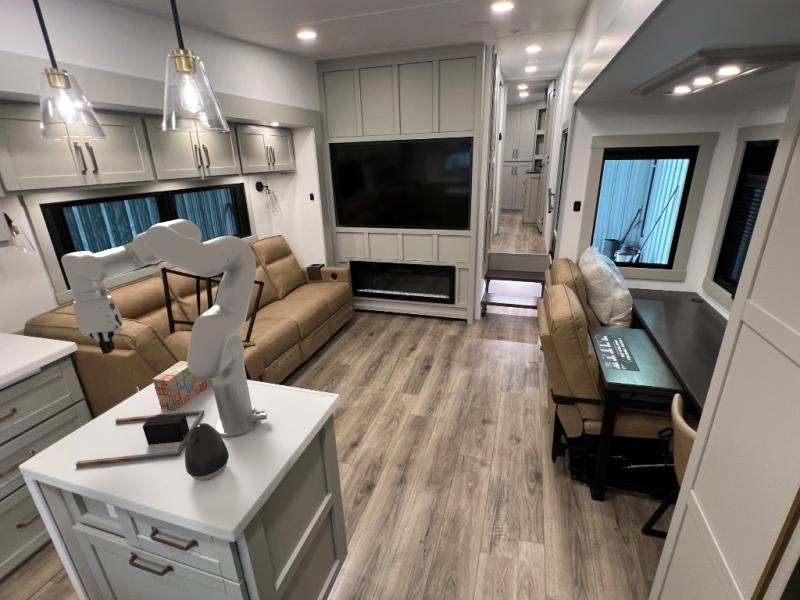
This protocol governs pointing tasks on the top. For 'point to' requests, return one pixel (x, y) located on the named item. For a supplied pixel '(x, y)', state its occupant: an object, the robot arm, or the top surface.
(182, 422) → the digital camera
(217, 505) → the top surface
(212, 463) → the black rounded mouse
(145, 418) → the shelf lane
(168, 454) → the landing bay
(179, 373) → the stack of blocks
